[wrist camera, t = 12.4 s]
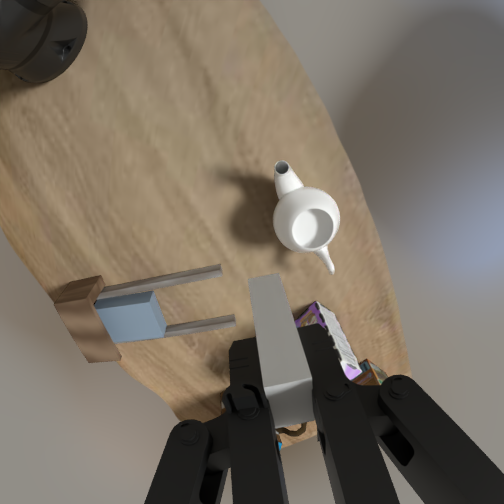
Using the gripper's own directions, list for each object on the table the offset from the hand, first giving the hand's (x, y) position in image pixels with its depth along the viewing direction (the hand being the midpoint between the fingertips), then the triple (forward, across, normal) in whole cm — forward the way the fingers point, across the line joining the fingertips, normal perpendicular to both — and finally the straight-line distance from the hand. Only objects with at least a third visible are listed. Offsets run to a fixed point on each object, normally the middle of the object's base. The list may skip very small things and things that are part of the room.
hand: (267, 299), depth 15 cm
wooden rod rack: (+32, -21, -19) cm, 43 cm away
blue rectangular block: (+33, -25, -20) cm, 46 cm away
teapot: (+33, +8, -7) cm, 34 cm away
